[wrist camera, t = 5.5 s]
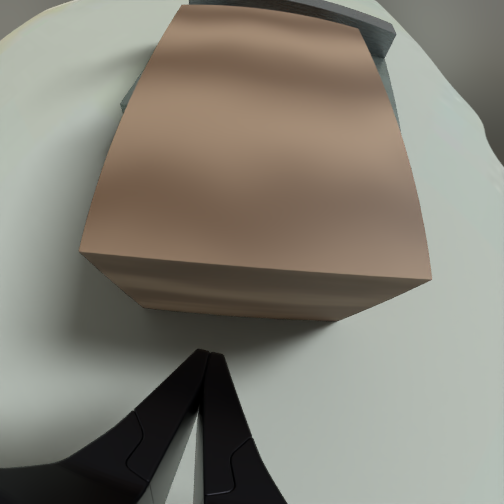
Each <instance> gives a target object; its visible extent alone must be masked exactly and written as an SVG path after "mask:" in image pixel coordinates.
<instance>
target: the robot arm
mask: <svg viewBox="0 0 504 504" xmlns="http://www.w3.org/2000/svg"><path fill="white" fill-rule="evenodd" d="M198 410H199V411H198ZM197 414H198V419H197V433H196V451H195V471H194V497H193V504H287V502H286V500H285V499H284V497H283V496H282V494H281V492H280V491H279V489H278V487H277V486H276V484H275V482H274V481H273V479H272V477H271V476H270V474H269V472H268V470H267V468H266V467H265V465H264V463H263V461H262V459H261V456H260V454H259V452H258V449H257V447H256V444H255V442H254V439H253V438H252V434H251V431H250V429H249V426H248V423H247V421H246V418H245V415H244V412H243V410H242V407H241V404H240V401H239V398H238V395H237V393H236V390H235V387H234V384H233V381H232V378H231V375H230V372H229V369H228V366H227V363H226V360H225V357H224V355H223V354H220V353H215V352H211V353H210V352H209V351H206V350H202V349H197V350H195V351H194V352H193V353H192V354H191V355H190V356H189V357H188V358H187V359H186V360H185V361H184V362H183V363H182V364H181V365H180V366H179V367H178V368H177V369H176V370H175V371H174V372H173V373H172V374H171V375H170V376H169V377H167V378H166V379H165V380H164V381H163V382H162V383H161V384H160V385H159V386H158V387H157V388H156V389H155V390H154V391H153V392H152V393H151V394H150V395H149V396H147V397H146V398H145V399H144V400H143V401H142V402H141V403H140V404H139V405H138V406H137V407H136V408H135V409H134V411H131V412H130V413H129V414H128V415H127V416H126V417H125V418H124V419H122V420H121V421H120V422H119V423H118V424H117V425H115V426H114V427H113V428H112V429H110V430H109V431H107V432H106V433H105V434H103V435H102V436H100V437H99V438H97V439H96V440H94V441H93V442H91V443H90V444H88V445H87V446H85V447H84V448H82V449H81V450H79V451H78V452H76V453H74V454H73V455H71V456H70V457H68V458H66V459H64V460H61V461H59V462H55V463H50V464H43V465H35V466H25V467H14V468H0V504H165V501H166V498H167V496H168V493H169V490H170V488H171V485H172V482H173V480H174V477H175V474H176V471H177V469H178V466H179V463H180V461H181V458H182V455H183V453H184V450H185V447H186V444H187V442H188V439H189V436H190V434H191V431H192V428H193V425H194V423H195V420H196V417H197Z"/></svg>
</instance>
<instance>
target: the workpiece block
mask: <svg viewBox="0 0 504 504" xmlns="http://www.w3.org/2000/svg"><path fill="white" fill-rule="evenodd" d="M79 252H80V253H81V254H82V255H83V256H84V257H85V258H86V259H87V260H88V261H89V262H91V263H92V264H93V265H94V266H95V267H96V268H97V269H98V270H99V271H101V272H102V273H103V274H104V275H105V276H106V277H107V278H109V279H110V280H111V281H112V282H113V283H114V284H115V285H117V286H118V287H119V288H120V289H121V290H122V291H124V292H125V293H126V294H127V295H128V296H130V297H131V298H132V299H133V300H134V301H136V302H137V303H138V304H139V305H141V306H142V307H143V308H150V309H159V310H168V311H178V312H188V313H199V314H211V315H223V316H236V317H251V318H268V319H288V320H315V321H339V320H342V319H344V318H347V317H349V316H352V315H354V314H357V313H359V312H361V311H364V310H366V309H369V308H371V307H373V306H376V305H378V304H380V303H382V302H385V301H387V300H389V299H392V298H394V297H396V296H398V295H400V294H403V293H405V292H407V291H409V290H411V289H413V288H416V287H418V286H420V285H422V284H424V283H426V282H428V281H430V280H432V274H431V266H430V259H429V252H428V246H427V240H426V234H425V228H424V223H423V218H422V213H421V208H420V203H419V199H418V194H417V190H416V186H415V182H414V178H413V174H412V170H411V166H410V163H409V159H408V156H407V152H406V149H405V145H404V142H403V139H402V136H401V132H400V129H399V126H398V123H397V120H396V117H395V114H394V112H393V109H392V106H391V103H390V101H389V98H388V95H387V93H386V90H385V87H384V85H383V82H382V80H381V77H380V75H379V73H378V70H377V68H376V66H375V63H374V61H373V59H372V57H371V54H370V52H369V50H368V48H367V46H366V44H365V41H364V39H363V37H362V35H361V33H360V31H359V29H358V28H354V27H351V26H347V25H343V24H339V23H336V22H331V21H327V20H323V19H319V18H314V17H309V16H304V15H299V14H293V13H287V12H281V11H274V10H267V9H259V8H249V7H238V6H223V5H181V7H180V8H179V10H178V11H177V13H176V15H175V16H174V18H173V19H172V21H171V23H170V24H169V26H168V28H167V29H166V31H165V33H164V34H163V36H162V38H161V40H160V41H159V43H158V45H157V47H156V49H155V50H154V52H153V54H152V56H151V58H150V60H149V61H148V63H147V65H146V67H145V69H144V71H143V73H142V75H141V77H140V79H139V81H138V83H137V85H136V87H135V90H134V92H133V94H132V96H131V98H130V100H129V103H128V105H127V107H126V109H125V112H124V114H123V116H122V119H121V121H120V123H119V126H118V128H117V131H116V133H115V136H114V138H113V141H112V143H111V146H110V149H109V151H108V154H107V157H106V160H105V162H104V165H103V168H102V171H101V174H100V177H99V180H98V183H97V186H96V189H95V193H94V196H93V199H92V202H91V206H90V209H89V213H88V216H87V220H86V224H85V228H84V231H83V235H82V239H81V244H80V248H79Z"/></svg>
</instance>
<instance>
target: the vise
mask: <svg viewBox="0 0 504 504" xmlns="http://www.w3.org/2000/svg"><path fill="white" fill-rule="evenodd" d="M189 5H223V6H238V7H249V8H259V9H267V10H274V11H281V12H287V13H293V14H299V15H304V16H309V17H314V18H319V19H323V20H327V21H331V22H336V23H339V24H343V25H347V26H351V27H354V28H358V29H359V31H360V33H361V35H362V37H363V39H364V41H365V44H366V46H367V48H368V50H369V52H370V54H371V57H372V59H373V61H374V63H375V66H376V68H377V70H378V73H379V75H380V77H381V80H382V82H383V85H384V87H385V90H386V93H387V95H388V98H389V101H390V103H391V106H392V109H393V112H394V114H395V117H396V120H397V123H398V126H399V129H400V124H399V119H398V114H397V109H396V104H395V99H394V95H393V90H392V86H391V82H390V78H389V74H388V70H387V66H386V62H385V59H384V58H385V56H386V54H387V52H388V50H389V48H390V46H391V44H392V42H393V40H394V38H395V36H396V32H395V30H394V28H393V26H392V24H391V23H388V22H386V21H383V20H381V19H378V18H376V17H373V16H370V15H368V14H365V13H362V12H359V11H356V10H353V9H350V8H347V7H344V6H341V5H338V4H334V3H331V2H327V1H324V0H189ZM143 71H144V70H143ZM142 73H143V72H142ZM142 73H141V74H140V76H139V77H138V79H137V80H136V81H135V83H134V84H133V86H132V87H131V89H130V90H129V91H128V93H127V94H126V96H125V97H124V99H123V100H122V102H121V103H120V105H121V109H122V113H123V114H124V112H125V109H126V107H127V105H128V103H129V100H130V98H131V96H132V94H133V92H134V90H135V87H136V85H137V83H138V81H139V79H140V77H141V75H142ZM400 132H401V130H400Z"/></svg>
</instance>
